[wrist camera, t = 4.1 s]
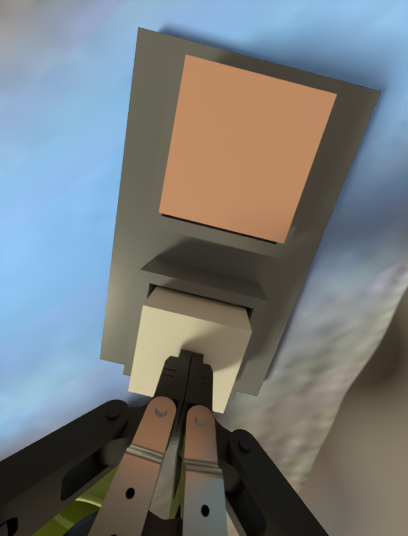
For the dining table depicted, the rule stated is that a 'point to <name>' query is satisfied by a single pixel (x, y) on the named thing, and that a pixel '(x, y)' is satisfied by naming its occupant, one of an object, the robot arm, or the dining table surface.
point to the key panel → (210, 237)
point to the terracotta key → (241, 148)
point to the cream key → (189, 340)
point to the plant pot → (79, 508)
